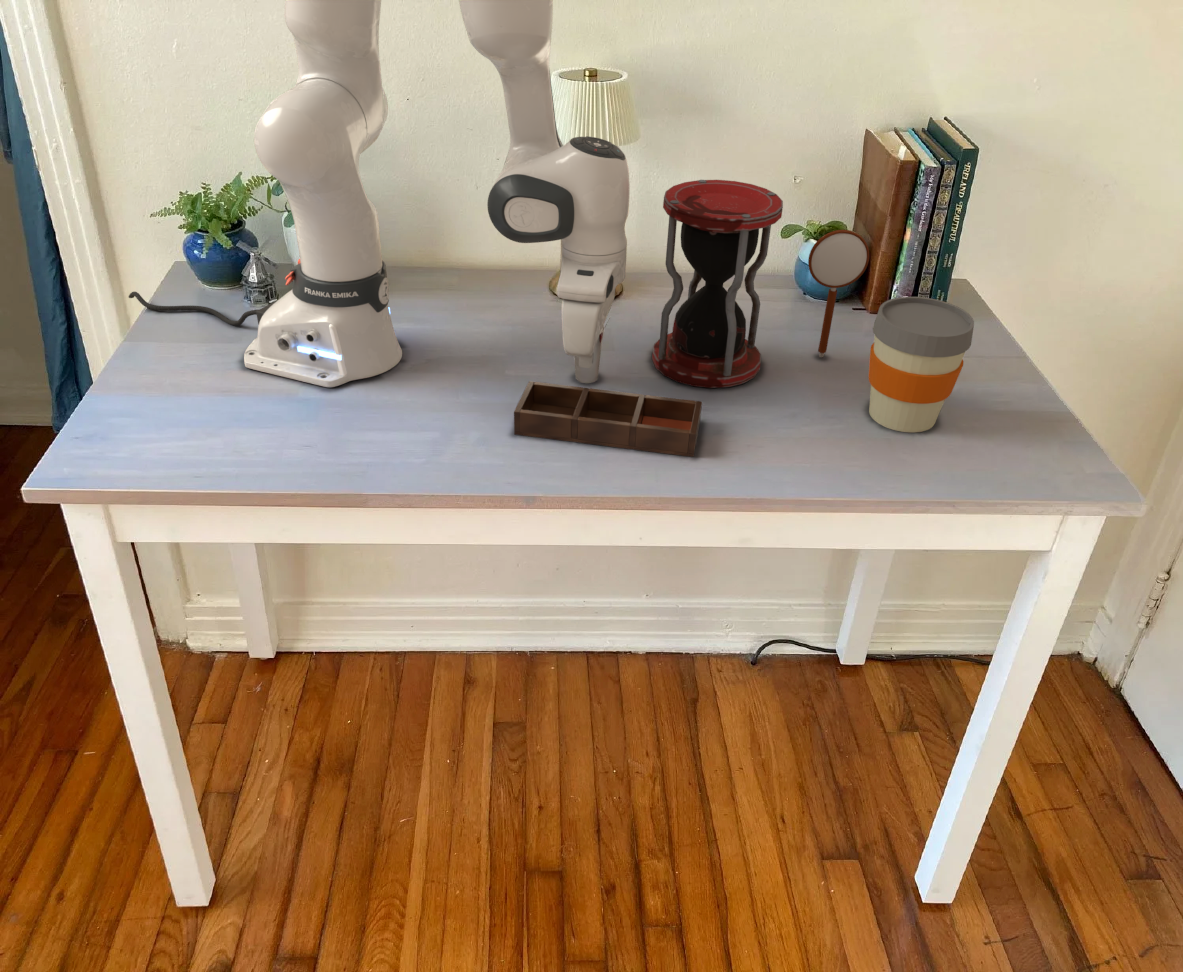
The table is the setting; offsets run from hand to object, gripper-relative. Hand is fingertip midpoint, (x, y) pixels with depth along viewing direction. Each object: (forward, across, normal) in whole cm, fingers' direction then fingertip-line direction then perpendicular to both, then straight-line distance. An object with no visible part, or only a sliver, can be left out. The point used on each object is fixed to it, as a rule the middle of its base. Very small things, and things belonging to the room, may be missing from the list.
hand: (589, 356), depth 142 cm
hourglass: (+4, -9, +16) cm, 19 cm away
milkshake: (+4, 0, 0) cm, 4 cm away
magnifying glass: (+4, -15, +33) cm, 36 cm away
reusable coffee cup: (+4, 0, +44) cm, 44 cm away
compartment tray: (+4, +13, +5) cm, 14 cm away
